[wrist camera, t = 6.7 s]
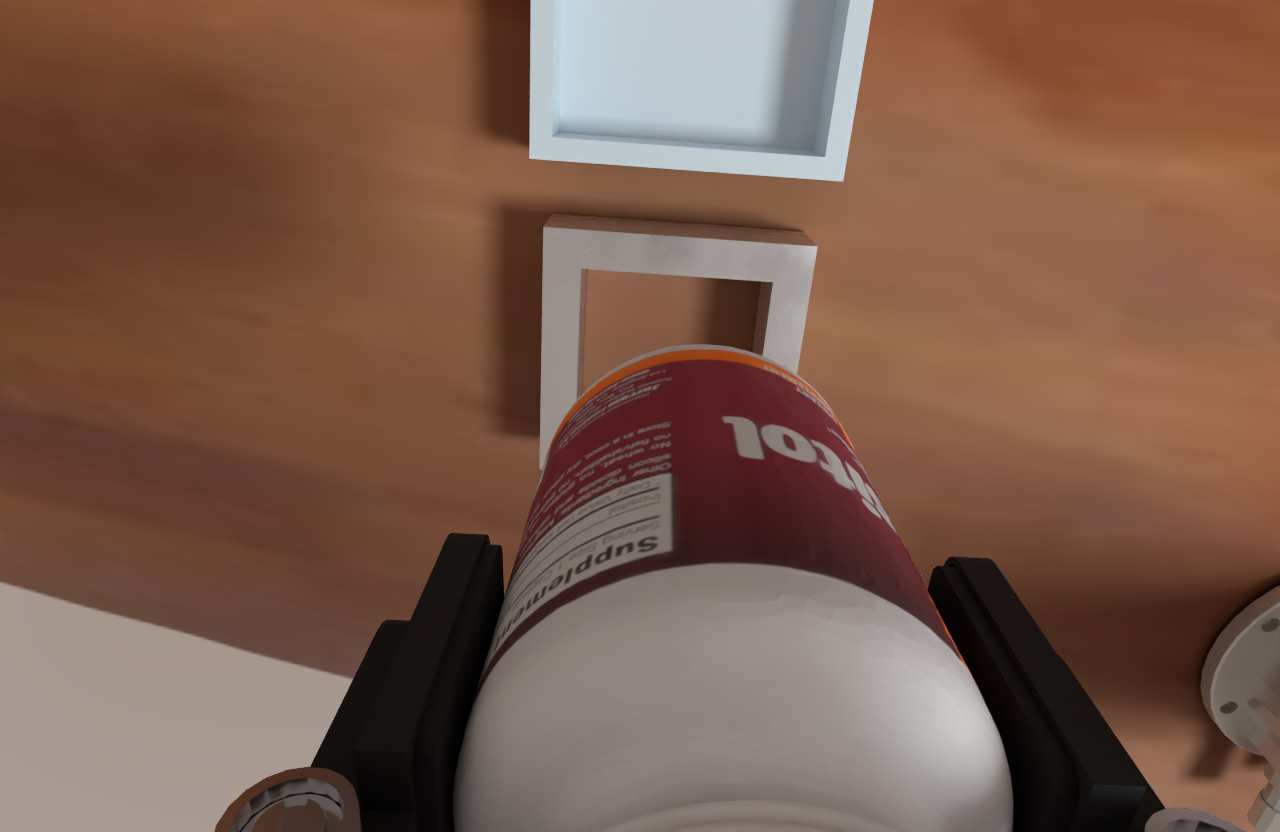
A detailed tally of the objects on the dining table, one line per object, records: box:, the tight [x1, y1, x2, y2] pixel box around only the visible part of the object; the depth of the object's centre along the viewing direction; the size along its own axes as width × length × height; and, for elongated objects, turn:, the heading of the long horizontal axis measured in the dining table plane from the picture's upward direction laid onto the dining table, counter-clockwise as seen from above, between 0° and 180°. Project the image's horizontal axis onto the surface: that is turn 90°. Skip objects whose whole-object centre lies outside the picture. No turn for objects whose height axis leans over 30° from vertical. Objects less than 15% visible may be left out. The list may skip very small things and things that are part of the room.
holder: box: [540, 213, 817, 470], centre depth 33 cm, size 10×10×3 cm
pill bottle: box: [453, 344, 1013, 832], centre depth 11 cm, size 6×6×11 cm
